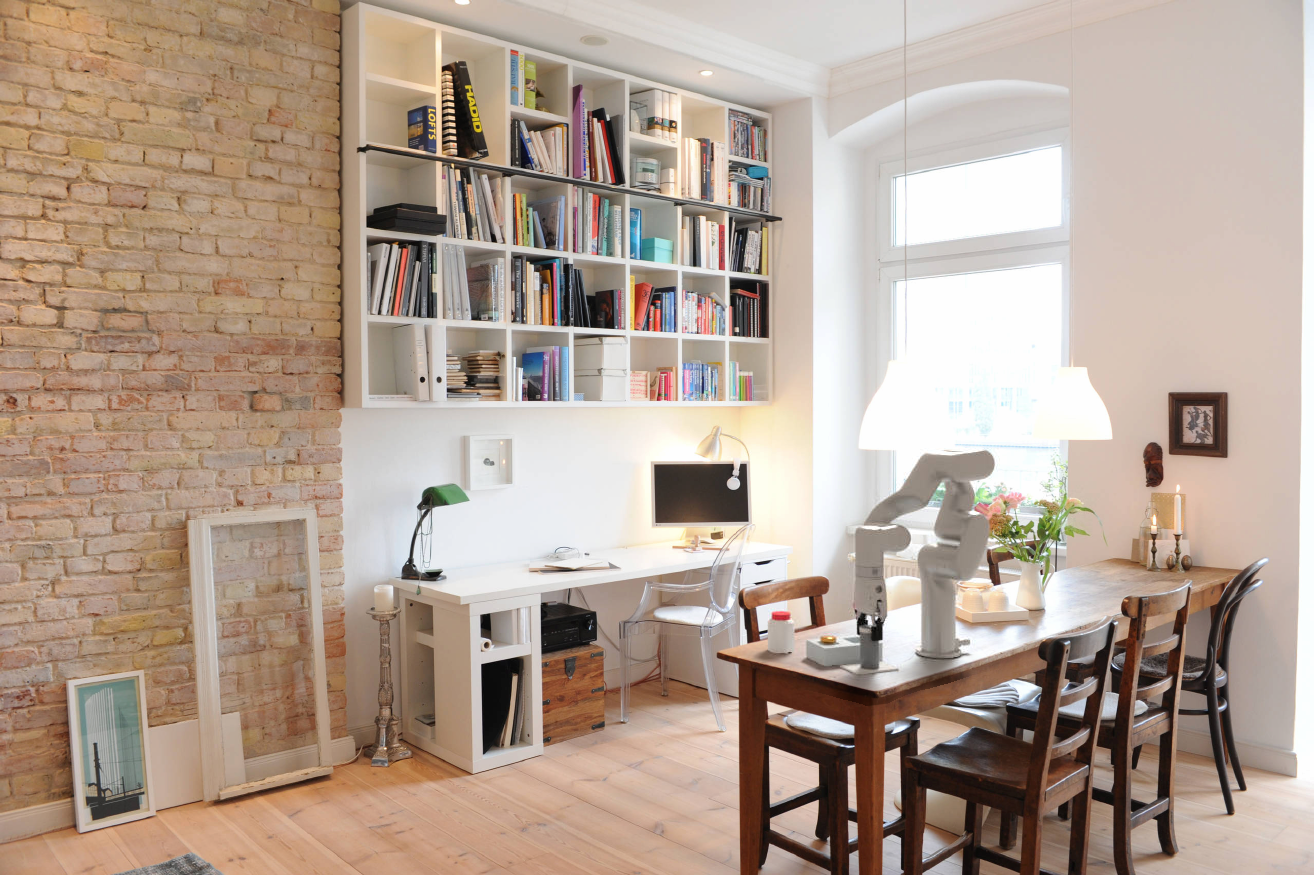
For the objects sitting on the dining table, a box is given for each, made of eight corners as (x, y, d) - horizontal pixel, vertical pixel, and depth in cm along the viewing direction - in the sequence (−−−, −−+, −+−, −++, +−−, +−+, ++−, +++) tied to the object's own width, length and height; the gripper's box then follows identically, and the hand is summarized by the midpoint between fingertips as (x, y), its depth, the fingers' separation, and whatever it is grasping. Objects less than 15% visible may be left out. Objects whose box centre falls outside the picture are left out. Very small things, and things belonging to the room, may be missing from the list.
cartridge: (873, 663, 278) (872, 624, 278) (883, 668, 273) (882, 627, 273) (856, 665, 276) (855, 625, 276) (866, 670, 271) (865, 629, 271)
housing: (862, 651, 294) (861, 634, 294) (882, 660, 284) (882, 642, 283) (806, 657, 288) (806, 639, 288) (825, 666, 278) (825, 648, 277)
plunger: (831, 656, 287) (831, 635, 287) (839, 660, 283) (839, 638, 283) (817, 657, 285) (817, 636, 285) (825, 661, 281) (825, 639, 281)
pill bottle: (792, 647, 300) (791, 610, 300) (796, 653, 293) (796, 615, 292) (766, 647, 300) (765, 610, 300) (769, 653, 292) (769, 616, 292)
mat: (881, 662, 281) (881, 661, 281) (898, 670, 273) (898, 668, 273) (840, 667, 277) (840, 665, 277) (856, 674, 269) (856, 673, 269)
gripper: (899, 576, 267) (899, 643, 268) (864, 566, 283) (865, 629, 284) (874, 578, 264) (874, 646, 265) (841, 568, 281) (841, 632, 281)
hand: (869, 637), depth 274 cm, fingers open, 6 cm apart
